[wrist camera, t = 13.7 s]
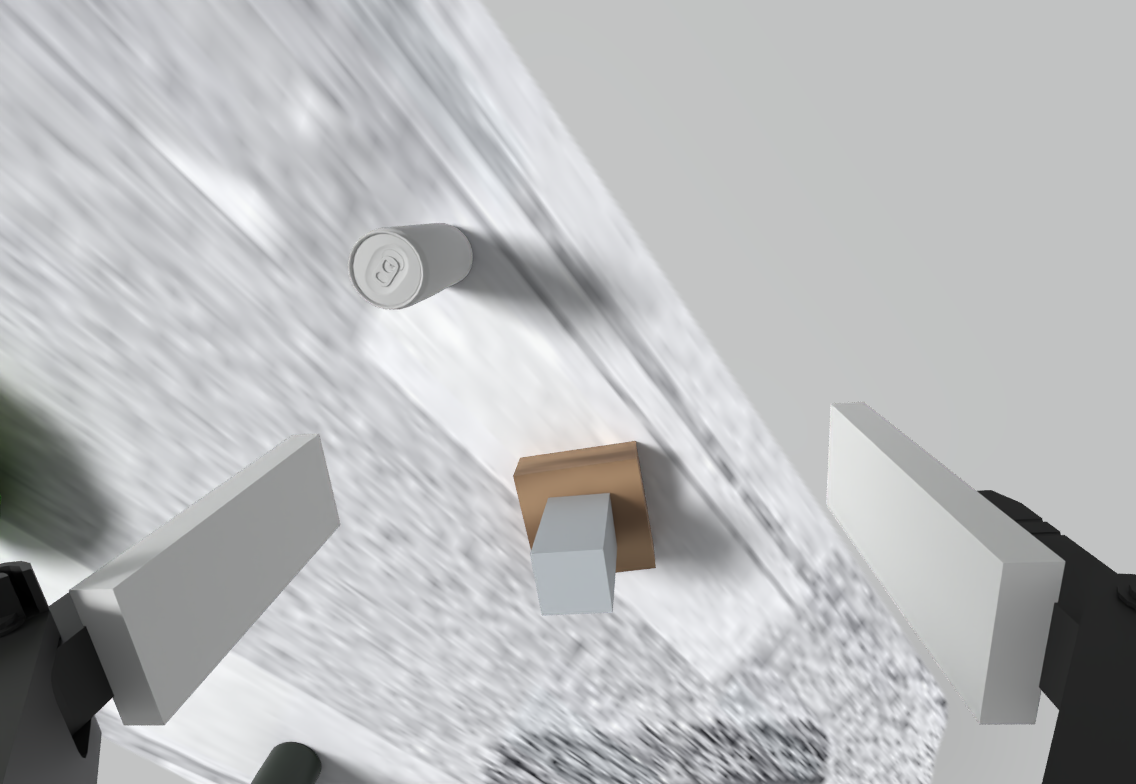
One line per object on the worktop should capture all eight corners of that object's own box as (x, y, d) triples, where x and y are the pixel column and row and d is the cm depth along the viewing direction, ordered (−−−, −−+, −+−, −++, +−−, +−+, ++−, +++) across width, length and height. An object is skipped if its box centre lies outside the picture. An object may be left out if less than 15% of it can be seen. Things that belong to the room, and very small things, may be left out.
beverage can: (486, 248, 45) (441, 262, 33) (453, 298, 46) (398, 327, 35) (435, 209, 44) (371, 210, 33) (402, 261, 46) (330, 278, 34)
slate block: (548, 497, 47) (530, 554, 39) (609, 493, 46) (603, 549, 38) (557, 551, 48) (541, 615, 41) (617, 547, 47) (612, 612, 40)
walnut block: (521, 455, 50) (513, 475, 46) (635, 438, 49) (636, 458, 45) (544, 554, 53) (538, 581, 49) (653, 541, 52) (655, 567, 48)
